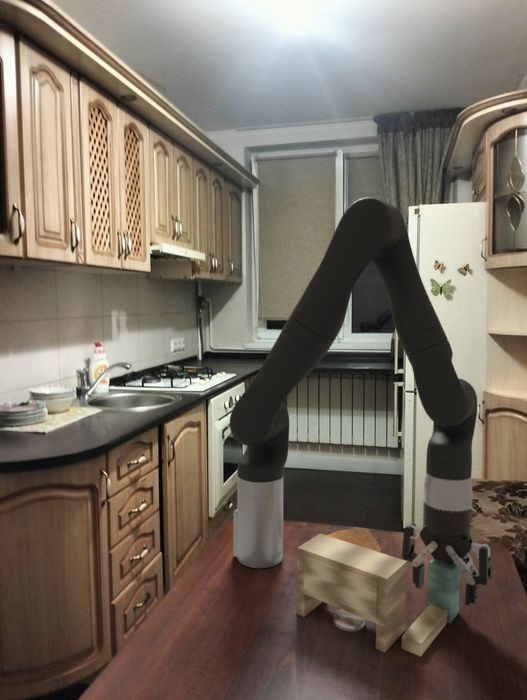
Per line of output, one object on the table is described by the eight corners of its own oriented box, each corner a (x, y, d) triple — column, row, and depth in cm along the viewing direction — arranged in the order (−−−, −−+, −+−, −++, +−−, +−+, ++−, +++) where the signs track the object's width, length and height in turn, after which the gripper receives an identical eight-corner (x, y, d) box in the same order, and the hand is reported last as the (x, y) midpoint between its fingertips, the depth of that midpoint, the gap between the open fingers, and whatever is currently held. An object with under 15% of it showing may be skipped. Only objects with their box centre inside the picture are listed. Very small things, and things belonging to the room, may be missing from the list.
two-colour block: (398, 647, 83) (400, 590, 82) (435, 604, 94) (437, 554, 94) (423, 658, 80) (426, 599, 79) (458, 612, 92) (460, 561, 91)
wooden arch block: (295, 614, 91) (296, 548, 90) (319, 596, 97) (320, 533, 96) (384, 653, 81) (386, 579, 80) (404, 630, 87) (406, 561, 86)
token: (327, 625, 89) (327, 617, 89) (343, 611, 93) (343, 604, 92) (355, 637, 86) (355, 630, 85) (370, 622, 89) (370, 615, 89)
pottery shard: (322, 540, 120) (322, 529, 120) (357, 533, 124) (357, 522, 123) (348, 561, 110) (348, 549, 110) (386, 552, 114) (386, 541, 114)
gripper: (397, 497, 91) (394, 590, 93) (485, 518, 82) (481, 620, 84) (415, 485, 97) (412, 572, 99) (499, 504, 88) (495, 599, 90)
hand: (444, 594), depth 91 cm, fingers open, 8 cm apart
